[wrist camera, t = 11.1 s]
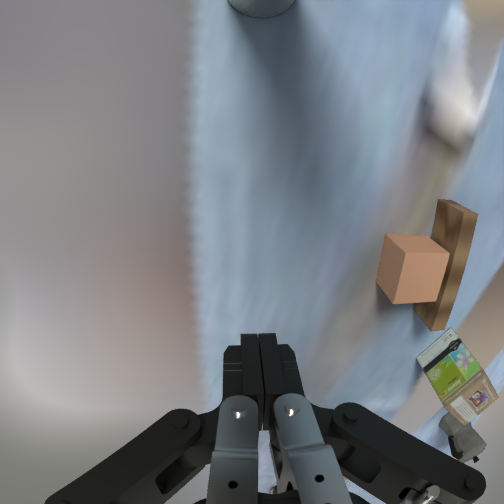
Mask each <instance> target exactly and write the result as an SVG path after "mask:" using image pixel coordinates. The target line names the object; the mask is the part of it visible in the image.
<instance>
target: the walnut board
mask: <svg viewBox="0 0 504 504" xmlns="http://www.w3.org/2000/svg"><path fill="white" fill-rule="evenodd" d="M477 216H478V214H477V213H475V212H473V211H471V210H470V209H468V208H466V207H464V206H462V205H460V204H458V203H456V202H454V201H452V200H442V199H438V204H437V210H436V215H435V221H434V226H433V231H432V236H431V239H432V240H433V241H434V242H436V243H437V244H438V245H440V246H441V247H442V248H444V249H445V250H446V251H448V252H449V253H450V255H449V259H448V263H447V266H446V270H445V273H444V277H443V280H442V284H441V287H440V290H439V293H438V297H437V300H436V301H433V302H420V303H415V304H414V307H413V309H414V311H415V312H416V313H417V315H418V316H419V317H420V318H421V320H422V321H423V322H424V323H425V325H426V326H427V327H428V329H429V330H430V331H431V332H432V331H438V330H444V329H445V327H446V324H447V321H448V319H449V316H450V313H451V310H452V307H453V305H454V302H455V299H456V296H457V292H458V289H459V286H460V283H461V280H462V276H463V273H464V269H465V266H466V262H467V259H468V255H469V251H470V247H471V243H472V239H473V235H474V230H475V226H476V221H477Z"/></svg>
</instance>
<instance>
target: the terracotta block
mask: <svg viewBox="0 0 504 504" xmlns="http://www.w3.org/2000/svg"><path fill="white" fill-rule="evenodd" d="M449 255H450V253H449V252H448V251H446V250H445V249H444V248H442V247H441V246H440V245H438V244H437V243H436V242H434V241H433V240H432V239H430V238H429V237H428V236H416V235H388V234H385V238H384V244H383V249H382V254H381V259H380V264H379V269H378V274H377V278H376V282H377V284H378V285H379V286H380V288H381V289H382V290H383V292H384V293H385V294H386V296H387V297H388V298H389V300H390V301H391V302H392V304H405V303H420V302H433V301H436V300H437V297H438V293H439V290H440V287H441V284H442V280H443V277H444V273H445V270H446V266H447V263H448V259H449Z"/></svg>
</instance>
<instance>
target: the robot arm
mask: <svg viewBox="0 0 504 504" xmlns="http://www.w3.org/2000/svg"><path fill="white" fill-rule="evenodd" d="M228 1H229V3H230V4H231V5H232V6H233V7H234V8H235V9H236V10H238V11H239V12H241V13H243V14H245V15H248V16H252V17H258V18H267V17H272V16H276V15H279V14H281V13H283V12H284V11H286V10H287V9H288V8H289V7H290V6H291V5H292V4H293V2H294V0H228ZM262 424H263V430H269V433H270V443H269V447H270V452H271V457H272V461H273V466H274V471H275V475H276V480H277V491H278V494H267V493H260V492H258V437H259V431H261V430H262ZM210 463H211V466H210V474H209V482H208V490H207V498H205V499H202V500H200V501H198V502H196V503H194V504H370V503H369V502H367V501H366V500H364V499H363V498H361V497H360V496H358V495H356V494H354V493H351V492H349V491H348V489H347V487H346V484H345V481H344V478H343V476H345V477H346V478H347V479H349V480H350V481H352V482H353V483H355V484H356V485H358V486H359V487H361V488H362V489H364V490H366V491H367V492H369V493H370V494H372V495H373V496H375V497H377V498H378V499H380V500H381V501H383V502H385V503H386V504H472V503H473V502H475V501H476V500H477V499H478V498H479V497H480V496H482V495H483V493H484V491H485V488H486V481H485V478H484V476H483V475H482V474H481V473H480V472H479V471H477V470H476V469H474V468H472V467H470V466H468V465H466V464H464V463H462V462H460V461H458V460H456V459H454V458H452V457H450V456H448V455H446V454H445V453H443V452H441V451H439V450H437V449H435V448H434V447H432V446H430V445H428V444H426V443H424V442H423V441H421V440H419V439H417V438H416V437H414V436H412V435H410V434H408V433H407V432H405V431H403V430H401V429H400V428H398V427H396V426H395V425H393V424H391V423H390V422H388V421H386V420H384V419H383V418H381V417H379V416H378V415H376V414H374V413H373V412H371V411H369V410H368V409H366V408H365V407H363V406H361V405H359V404H357V403H351V402H349V403H343V404H340V405H339V406H337V407H336V408H335V410H333V409H327V408H321V407H318V406H315V405H313V404H312V403H310V402H309V400H308V399H307V398H306V397H305V395H304V391H303V387H302V383H301V378H300V374H299V370H298V366H297V362H296V357H295V353H294V351H293V350H292V349H291V348H290V346H289V345H288V344H279V345H278V344H277V339H276V334H275V333H261V334H258V335H257V334H241V345H236V346H228V347H227V349H226V351H225V352H224V359H223V398H222V402H221V404H220V405H219V406H218V407H217V408H216V409H214V410H213V411H210V412H207V413H204V414H200V415H197V414H196V413H194V412H193V411H191V410H188V409H175V410H172V411H170V412H168V413H167V414H166V415H164V416H163V417H162V418H160V419H159V420H158V421H156V422H155V423H154V424H152V425H151V426H150V427H149V428H147V429H146V430H145V431H143V432H142V433H141V434H139V435H138V436H137V437H135V438H134V439H133V440H131V441H130V442H128V443H127V444H126V445H125V446H123V447H122V448H120V449H119V450H117V451H116V452H115V453H113V454H112V455H110V456H109V457H108V458H107V459H105V460H104V461H102V462H101V463H99V464H98V465H96V466H95V467H93V468H92V469H91V470H89V471H88V472H86V473H85V474H83V475H82V476H80V477H79V478H77V479H76V480H75V481H73V482H71V483H70V484H68V485H67V486H65V487H64V488H62V489H61V490H59V491H57V492H56V493H54V494H53V495H51V496H50V497H49V498H48V499H47V500H46V501H45V504H164V503H165V502H166V501H167V500H169V499H170V498H171V497H172V496H173V495H174V494H175V493H177V492H178V491H179V490H180V489H181V488H182V487H183V486H185V485H186V484H187V483H188V482H189V481H190V480H191V479H192V478H193V477H194V476H195V475H196V474H198V473H199V472H200V471H201V470H202V469H203V468H204V467H205V465H206V464H210Z"/></svg>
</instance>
